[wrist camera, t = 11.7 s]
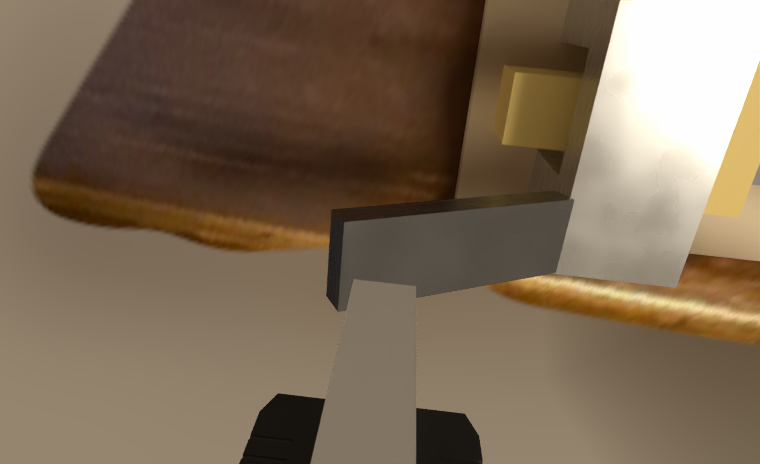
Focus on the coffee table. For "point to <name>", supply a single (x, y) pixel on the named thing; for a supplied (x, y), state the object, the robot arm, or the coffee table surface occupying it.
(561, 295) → the coffee table surface
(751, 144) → the grey block yellow flange
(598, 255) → the block
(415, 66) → the coffee table surface
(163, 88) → the coffee table surface
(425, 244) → the plate
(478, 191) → the base board
